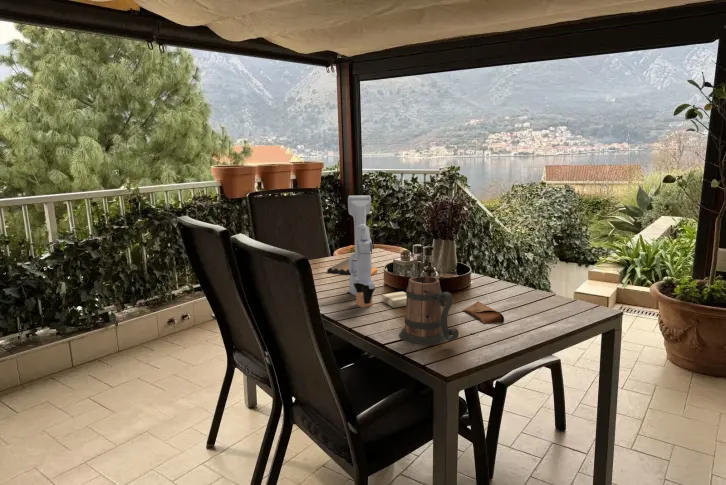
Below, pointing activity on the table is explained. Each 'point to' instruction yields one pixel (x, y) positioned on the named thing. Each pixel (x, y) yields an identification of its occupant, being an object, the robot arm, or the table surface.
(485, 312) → the sunglasses case
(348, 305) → the table surface
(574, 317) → the table surface
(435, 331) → the tankard
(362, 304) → the cube
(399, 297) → the base
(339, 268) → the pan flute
